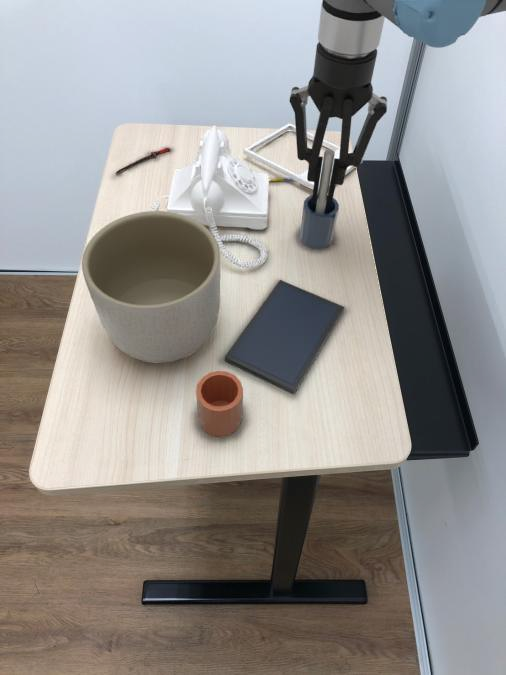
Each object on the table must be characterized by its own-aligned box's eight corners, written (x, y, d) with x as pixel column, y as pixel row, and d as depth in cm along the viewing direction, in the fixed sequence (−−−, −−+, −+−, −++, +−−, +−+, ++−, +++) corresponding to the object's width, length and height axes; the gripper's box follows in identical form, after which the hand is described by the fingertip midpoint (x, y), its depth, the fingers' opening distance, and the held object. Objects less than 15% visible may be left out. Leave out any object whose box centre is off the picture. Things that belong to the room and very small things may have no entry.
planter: (225, 375, 75) (223, 304, 62) (101, 382, 73) (74, 312, 61) (219, 284, 85) (216, 207, 72) (109, 289, 83) (88, 212, 71)
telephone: (266, 274, 86) (270, 213, 76) (136, 268, 86) (123, 206, 76) (269, 176, 101) (273, 114, 91) (159, 171, 101) (150, 108, 91)
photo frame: (362, 163, 104) (288, 128, 111) (363, 158, 104) (289, 123, 110) (319, 194, 97) (243, 154, 103) (320, 189, 96) (243, 149, 102)
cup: (249, 410, 71) (251, 382, 66) (228, 444, 69) (227, 418, 63) (213, 392, 73) (211, 363, 67) (191, 424, 70) (187, 397, 64)
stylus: (322, 233, 91) (336, 151, 79) (318, 238, 91) (332, 156, 78) (314, 230, 92) (327, 148, 79) (310, 235, 91) (322, 153, 78)
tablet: (343, 310, 82) (344, 306, 81) (294, 394, 73) (294, 390, 72) (279, 283, 85) (280, 279, 84) (224, 360, 76) (224, 356, 75)
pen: (237, 179, 99) (237, 180, 100) (238, 182, 99) (237, 184, 100) (312, 175, 101) (311, 177, 101) (312, 179, 100) (311, 180, 101)
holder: (337, 233, 92) (344, 200, 87) (324, 253, 89) (330, 221, 84) (308, 222, 94) (312, 189, 88) (293, 241, 91) (297, 208, 85)
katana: (165, 147, 106) (165, 144, 105) (171, 150, 105) (170, 147, 105) (112, 173, 100) (111, 169, 100) (117, 176, 99) (116, 173, 99)
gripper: (408, 36, 68) (369, 188, 87) (291, 24, 69) (278, 177, 88) (408, 66, 63) (368, 219, 82) (284, 52, 64) (272, 207, 83)
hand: (322, 197), depth 85 cm, fingers closed
